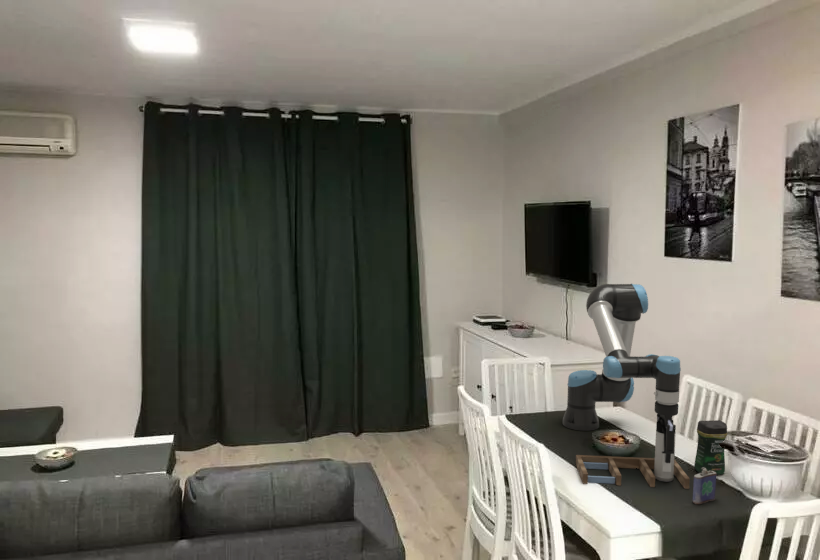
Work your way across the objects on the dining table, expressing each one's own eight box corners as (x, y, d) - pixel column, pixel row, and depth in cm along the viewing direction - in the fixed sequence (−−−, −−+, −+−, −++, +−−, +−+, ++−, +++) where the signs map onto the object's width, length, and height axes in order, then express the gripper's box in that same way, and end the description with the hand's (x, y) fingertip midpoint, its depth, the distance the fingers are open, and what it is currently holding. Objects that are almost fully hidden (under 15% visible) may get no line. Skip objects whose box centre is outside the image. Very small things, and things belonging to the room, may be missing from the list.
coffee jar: (703, 476, 231) (705, 424, 230) (690, 468, 239) (693, 417, 237) (729, 475, 233) (732, 423, 231) (716, 467, 240) (718, 416, 239)
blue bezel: (581, 467, 239) (581, 461, 239) (607, 468, 238) (607, 463, 238) (587, 482, 226) (587, 476, 226) (614, 483, 225) (615, 478, 225)
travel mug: (649, 476, 231) (651, 420, 229) (663, 473, 234) (666, 418, 232) (662, 483, 226) (665, 425, 224) (677, 480, 228) (680, 423, 226)
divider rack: (575, 464, 242) (576, 454, 242) (674, 468, 239) (674, 459, 238) (582, 483, 225) (583, 473, 225) (689, 488, 221) (689, 478, 221)
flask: (697, 505, 209) (698, 472, 208) (689, 501, 212) (690, 469, 210) (717, 499, 213) (719, 467, 212) (709, 496, 216) (711, 464, 215)
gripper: (648, 393, 237) (645, 456, 239) (662, 409, 218) (659, 477, 220) (670, 394, 236) (667, 457, 239) (686, 410, 217) (683, 479, 220)
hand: (663, 467), depth 230 cm, fingers closed on travel mug, 6 cm apart
